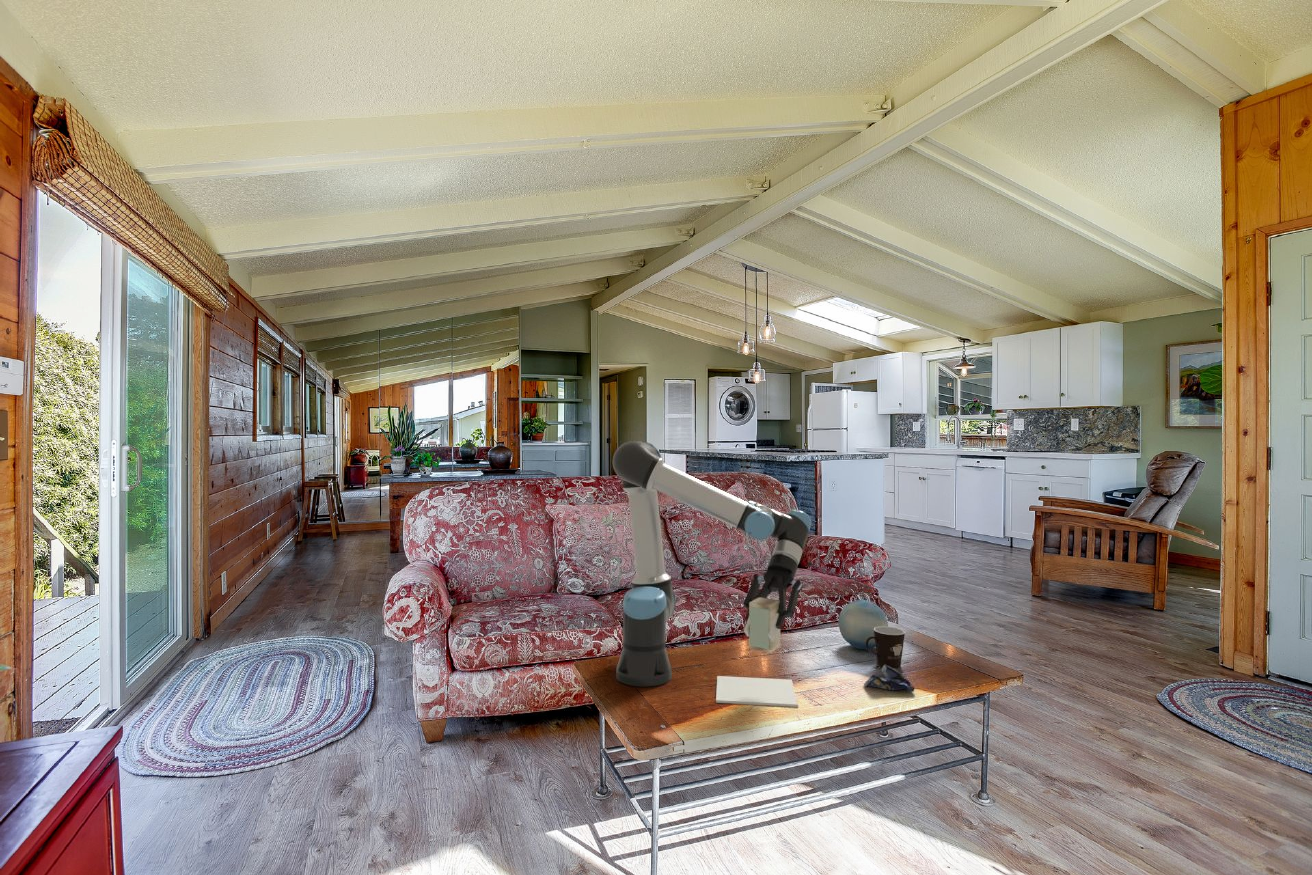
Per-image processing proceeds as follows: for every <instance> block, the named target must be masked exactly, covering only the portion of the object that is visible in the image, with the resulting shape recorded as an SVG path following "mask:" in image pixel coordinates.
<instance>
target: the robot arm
mask: <svg viewBox="0 0 1312 875" xmlns="http://www.w3.org/2000/svg"><path fill="white" fill-rule="evenodd" d="M612 466H613V467H612V468H613V471H614V472H615V474H616V475H617V476H618V478H620V479H621V485H622V490H623V491H624V492H626V493H627V495H628V503H629V504H628V505H629V513H630V524H631V534H632V545H633V554H634V565H635V576H634V578H633V579H632V580H631V587H632V588H630V589H629V590H627V591H626V592H625V593H624V595H623V596H624V597H623V601H622V609H623V610H622V615H623V616H622V617H623V618H622V642H623V643H622V650H621V653H620V656H619V659H618V663H617V666H616V670H615V672H616V673H615V677H616V680H617V681H618V682H620V683H622V684H624V685H627V686H631V687H645V688H647V687H656V686H661V685H664V684H667V683H668V682H670V681H671V679H672V666H671V663H670V660H669V656H668V653H667V650H666V649H667V648H666V624H667V622H668V621H670V620H669V619H670V618H671V617H672V616H673V614H674V612H675V610H676V604H677V599H676V597H677V596H676V593H675V590H674V589H673V586H672V585H673V584H672V576H671V575H669V574H668V573H667V572H666V567H665V566H666V565H665V556H664V548H663V538H662V537H663V536H662V530H661V518H660V517H661V516H660V506H659V498H658V492H659V493H662V494H663V495H666V496H668V497H669V498H672V499H674V500H676V501H679V502H680V503H682V504H685V505H687V506H689V507H691V508H693V509H695V510H697V511H700V512H702V513H703V514H706V515H708V516H710V517H712V518H714V519H717V520H719V521H721V522H723V523H725V524H728V525H729V526H731V527H733V528H735V529H737V530H739V531H741V532H743V533H745V534H747V536H749V538H752V539H753V540H756V541H763V540H766V539H768V538H770V537H771V538H772V539H776V544H775V546H774V548H773V550H772V554H771V557H770V559H769V562H768V564H767V569H766V571H765V573H763V575H758V574H757V573H754V574H753V577H752V578H753V580H752V583H751V585H750V587H749V590H748V592H747V593H746V596H745V599H744V601H743V603H742V604H743V606H744V608H745V610H747V612H746V615H745V618H744V619H745V622H746V624H745V626H744V629H743V632H744V634H745V635H746V636H747V637H749V602H751V601H753V600H755V599H757V598H760V597H761V598H767V597H768V596H769V595H771V593H772V592H778V600H779V601H780V603H779V611H778V612H779V614H778V613H776V614H775V617H774V620H773V623H772V625H771V628H770V631H769V634H768V637H769V638H770V640H771V641H773V642H774V640H775V637H776V633H777V630H778V629H780V630H781V629H782V628H783V626H784V623H785V619H786V618H791V619H793V617H794V616H795V612H796V611H795V610H796V606H797V603H798V600H799V599H798V598H799V595H800V592H801V591H802V590H803V587H804V586H803V584H802V582H801V580H799V579H797V580H795V579H794V578H795V576H796V573H797V571H798V565H799V564H800V561H801V558H802V554H803V551H804V548H805V546H806V544H807V540H808V538H809V535H810V530H811V526H812V519H811V517H810V516H809V515H808V514H807V513H806V512H804V511H803V510H796V509H791V510H789V511H788V512H787V513H783V512H780V511H777V510H775V509H773V508H770V507H768V506H766V505H763V504H761V502H756V501H754V500H747V501H744V500H743V499H741V498H738V497H736V496H734V495H732V494H730V493H728V492H725V491H724V490H721V489H719V488H718V487H715V486H713V485H710V484H708V483H706V482H705V481H702V480H700V479H698V478H695V477H694V476H692V475H689V474H688V473H686V472H684V471H681V470H679V469H676V468H675V467H673V466H671V465H668V464H667V463H665V460H664V459H663V458H662V455H661V453H660V451H659V449H658V448H657V447H656V446H655V445H653V444H652V443H650V442H648V441H644V440H641V441H640V440H637V441H634V440H633V441H627V442H624V443H623V444H621V445H620V446H618V447H617V448H616V450H615V451H614V454H613V457H612ZM763 581H764V583H763ZM762 583H763V585H762ZM761 585H762V587H761ZM790 587H791V590H790V594H789V599H788V602H787V589H788V588H790Z"/></svg>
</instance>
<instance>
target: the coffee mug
mask: <svg viewBox="0 0 1312 875" xmlns="http://www.w3.org/2000/svg"><path fill="white" fill-rule="evenodd" d="M905 635H906V632H905V630H903V629H901V628H898V627H893V626H888V627H875V628H874V637H873V636H871V637H869V638H868V639H867V641H866V647H867V648H868V649H867V650H868V651H869V652H870V653H872V654H873V655H875V656H876V662H877V665H878V667H881V668H882V667H883V666H884V665H885V664H886V665H887V666H890V667H891V668H894V669H895V670H897V669H900V668H901V666H902V658H903V657H902V656H903V650H904V642H905ZM870 639H875V646H876V647H875V651H873V650H872V649H870V648H869V646H868V642H869V640H870Z"/></svg>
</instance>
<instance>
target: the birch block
mask: <svg viewBox="0 0 1312 875" xmlns="http://www.w3.org/2000/svg"><path fill="white" fill-rule="evenodd" d="M779 603H780V601H779V599H772V598H767V597H766V598H761V597H760V598H757V599H755V600H753V601H751V602H749V636H748V643H749V644H748V649H749V650H753V651H754V650H755V651H760V652H763V653H769V654H772V653H774V651H776V650H777V649H779V648H780V647H781V629H778V630H777V633H776V637H775V640H774V642H773V641H771V640H770V638H769V637H768V634H769V631H770V628H771V625H772V623H773V620H774V617H775V614H776V613H778V614H779V612H778V611H779Z"/></svg>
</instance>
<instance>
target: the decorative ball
mask: <svg viewBox="0 0 1312 875" xmlns="http://www.w3.org/2000/svg"><path fill="white" fill-rule="evenodd" d="M875 627H889V621H888V618H887V617H886V613H884V611H883V609H882V608H881V607H880V606H878V605H877V604H875V602H872V601H869V600H864V599H863V600H862V599H859V600H853V601H851V602H849V603H848V604H846V605H845V606H844V607H843V608H842V610H841V611H840V613H839V617H838V629H839V632H840V635H841V637H842V638H843V640H845V641H846V643H848V644H849V645H850V646H852V647H853V648H856V649H859V650H868V648H867V647H866V641H867V639H868V638H869V637H871V636H873V637H874V628H875ZM868 646H869V648H870V649H871V650H872V649H876V646H875V639H870V640H869V642H868Z"/></svg>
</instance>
